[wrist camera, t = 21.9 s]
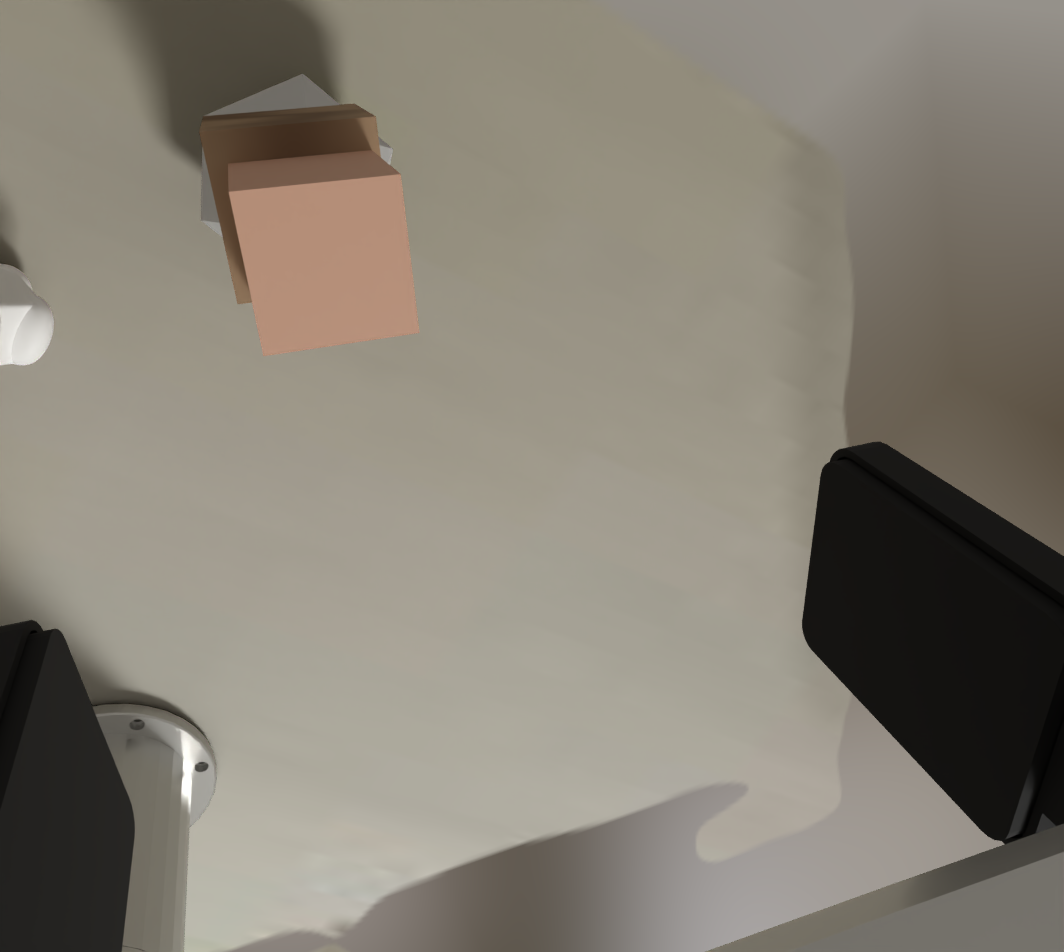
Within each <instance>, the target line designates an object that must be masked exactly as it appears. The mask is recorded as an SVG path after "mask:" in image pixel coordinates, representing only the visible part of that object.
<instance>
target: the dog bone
mask: <svg viewBox="0 0 1064 952" xmlns="http://www.w3.org/2000/svg"><path fill="white" fill-rule="evenodd" d="M53 327H54V318H53V313H52V310H51V308H50V306H49V304H48V303H47V302H46V301H45V300H44V299H42V298H41V297H39V296H37V295H36V294H35V293H34V292H33V290H32V286H31V283H30V281H29V279H28V278H27V276H26V275H25V274H24V273H23V272H22V271H20V270H19V269H17V268H15V267H14V266H11V265H7V264H0V365H5V364H16V365H29V364H32V363H34V362H35V361H37V360H38V359H39V358H40V357H41V356H42V355H43V354H44V352H45V351H46V349H47V347H48V346H49V344H50V341H51V338H52V334H53Z"/></svg>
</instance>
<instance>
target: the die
mask: <svg viewBox="0 0 1064 952" xmlns="http://www.w3.org/2000/svg"><path fill="white" fill-rule="evenodd" d="M332 105H340V104H339V103H338V102H336V101H335V100H334V99H333V98H332V97H330V96H329V95H328V94H327V93H326V92H324V91H323V90H322V89H321V88H320V87H318V86H317V85H316V84H315V83H314V82H312V81H311V80H310V79H309V78H308V77H306V76H305V75H304V74H300V75H298V76H296V77H293V78H291V79H289V80H286V81H284V82H282V83H279V84H277V85H274V86H272V87H270V88H267V89H265V90H263V91H260V92H258V93H256V94H253V95H251V96H249V97H246V98H244V99H242V100H239V101H237V102H235V103H232V104H230V105H228V106H225V107H223V108H221V109H218V110H216V111H214V112H211V113H209V114H207V115H204V116H212V115H224V114H236V113H248V112H260V111H272V110H284V109H296V108H308V107H320V106H332ZM378 138H379V137H378ZM379 146H380V154H381V158H382V159H383V160H384V161H386V162H387V163H388V164H389V165H390V163H391V157H392V152H393V148H391V147H390V146H389V145H388V144H387V143H385V142H384V141H383V140H382V139H381V138H379ZM201 221H202V222H204V223H205V224H206V225H207V226H209V227H210V228H211V229H213V230H214V231H215V232H216V233H218V234H219V235H220V236H222V232H221V227H220V223H219V218H218V214H217V209H216V205H215V200H214V196H213V191H212V187H211V182H210V178H209V174H208V169H207V165H206V160H205V156H204V151H203V147H202V189H201ZM222 237H223V236H222Z"/></svg>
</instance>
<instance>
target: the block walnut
mask: <svg viewBox="0 0 1064 952" xmlns="http://www.w3.org/2000/svg"><path fill="white" fill-rule="evenodd" d="M199 133H200V138H201V142H202V147H203V151H204V156H205V160H206V165H207V169H208V174H209V178H210V182H211V187H212V191H213V196H214V200H215V205H216V209H217V214H218V218H219V223H220V227H221V232H222V236H223V241H224V245H225V249H226V254H227V258H228V263H229V267H230V272H231V276H232V281H233V285H234V290H235V294H236V299H237V303H238V304H243V303H250V302H252V299H251V295H250V290H249V285H248V281H247V276H246V271H245V267H244V262H243V257H242V253H241V248H240V243H239V238H238V234H237V229H236V224H235V220H234V215H233V210H232V206H231V201H230V196H229V189H228V164H229V163H240V162H250V161H261V160H271V159H282V158H293V157H303V156H314V155H324V154H335V153H345V152H356V151H367V150H372V151H374V152H375V153H376V154H377V155H378V156H380V157H381V154H380V146H379V138H378V131H377V123H376V116H374V115H372V114H371V113H369V112H367V111H366V110H364V109H362V108H361V107H359V106H357V105H356V104H345V105H332V106H320V107H308V108H296V109H284V110H272V111H260V112H248V113H236V114H224V115H212V116H203V119H202V123H201V127H200V130H199Z"/></svg>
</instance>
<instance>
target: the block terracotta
mask: <svg viewBox="0 0 1064 952" xmlns="http://www.w3.org/2000/svg"><path fill="white" fill-rule="evenodd" d="M228 189H229V196H230V201H231V206H232V210H233V215H234V220H235V224H236V229H237V234H238V238H239V243H240V248H241V253H242V257H243V262H244V267H245V271H246V276H247V281H248V285H249V290H250V295H251V299H252V304H253V309H254V313H255V318H256V323H257V328H258V332H259V337H260V342H261V346H262V351H263V356H267V355H274V354H281V353H287V352H294V351H301V350H307V349H314V348H321V347H328V346H334V345H341V344H348V343H354V342H361V341H368V340H375V339H381V338H388V337H395V336H401V335H408V334H415V333H419V325H418V316H417V308H416V299H415V291H414V282H413V274H412V266H411V257H410V249H409V240H408V232H407V223H406V215H405V206H404V198H403V190H402V181H401V174H400V173H399V172H397V171H396V170H395V169H394V168H393V167H391V166H390V165H389V164H388V163H387V162H386V161H384V160H383V159H382V158H381V157H380V156H378V155H377V154H376V153H375V152H374V151H372V150H367V151H356V152H345V153H335V154H324V155H314V156H303V157H293V158H282V159H271V160H261V161H250V162H240V163H229V164H228Z"/></svg>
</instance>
